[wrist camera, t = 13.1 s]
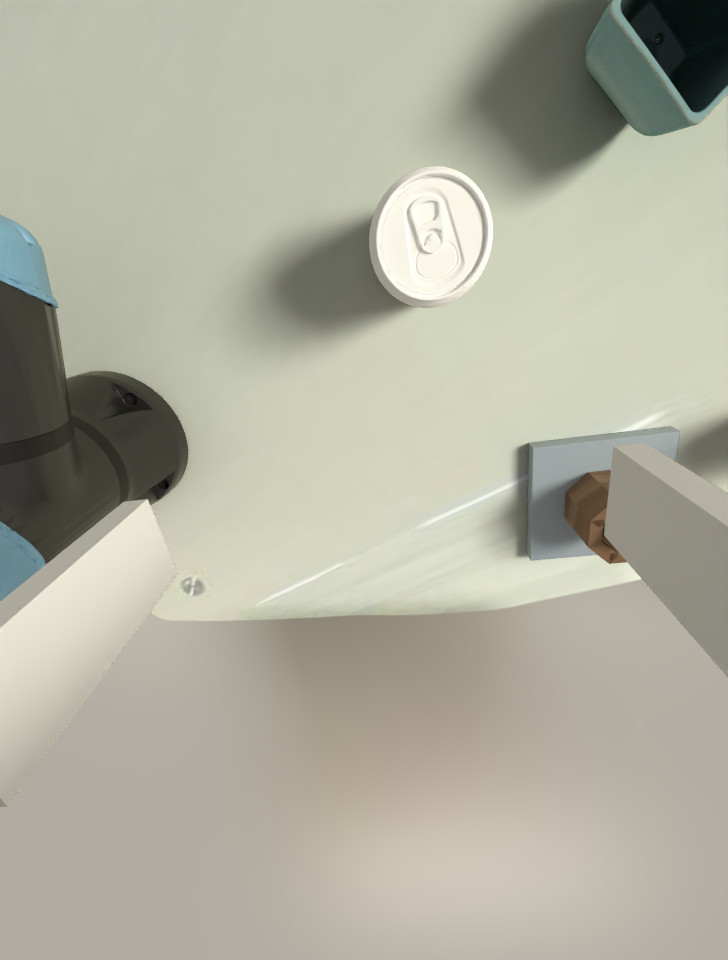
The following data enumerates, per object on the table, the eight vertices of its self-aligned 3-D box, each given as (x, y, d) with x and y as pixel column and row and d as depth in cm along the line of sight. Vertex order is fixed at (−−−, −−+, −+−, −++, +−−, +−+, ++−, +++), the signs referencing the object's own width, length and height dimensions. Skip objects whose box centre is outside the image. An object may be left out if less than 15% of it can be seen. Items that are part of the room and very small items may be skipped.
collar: (563, 533, 46) (586, 565, 41) (566, 474, 43) (592, 501, 38) (631, 526, 45) (664, 558, 40) (639, 466, 42) (676, 492, 37)
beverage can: (387, 314, 39) (387, 324, 28) (362, 218, 36) (351, 188, 25) (473, 287, 38) (507, 286, 27) (455, 184, 35) (485, 137, 24)
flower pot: (622, 167, 34) (696, 129, 25) (550, 77, 32) (606, 4, 23) (724, 54, 30) (847, -32, 22) (652, -54, 28) (758, -191, 20)
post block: (526, 553, 49) (554, 605, 41) (528, 442, 44) (561, 478, 35) (651, 541, 48) (706, 594, 40) (670, 426, 42) (738, 459, 34)
